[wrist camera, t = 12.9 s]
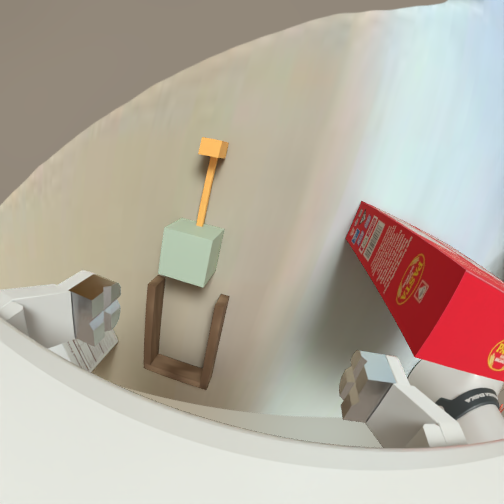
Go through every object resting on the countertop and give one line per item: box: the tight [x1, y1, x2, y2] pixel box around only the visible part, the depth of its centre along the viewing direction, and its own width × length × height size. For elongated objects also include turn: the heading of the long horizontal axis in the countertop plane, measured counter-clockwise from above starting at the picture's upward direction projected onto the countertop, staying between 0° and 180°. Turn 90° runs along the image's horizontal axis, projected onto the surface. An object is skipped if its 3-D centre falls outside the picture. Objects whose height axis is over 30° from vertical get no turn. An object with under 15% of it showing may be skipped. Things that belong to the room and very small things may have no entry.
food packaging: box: [346, 201, 504, 382], centre depth 24 cm, size 15×5×25 cm, turn 70°
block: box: [158, 137, 229, 288], centre depth 35 cm, size 6×17×6 cm, turn 167°
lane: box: [144, 275, 229, 390], centre depth 43 cm, size 11×16×4 cm
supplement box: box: [48, 329, 118, 372], centre depth 41 cm, size 7×7×13 cm
